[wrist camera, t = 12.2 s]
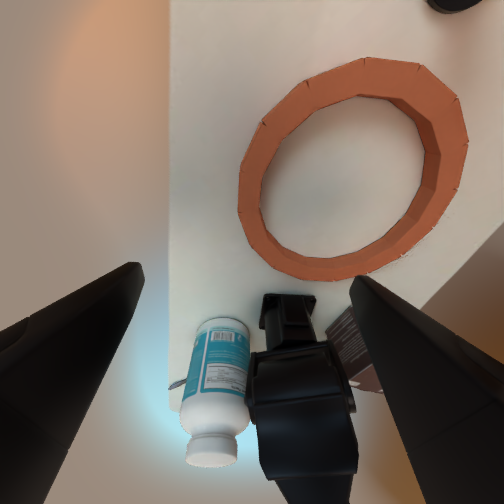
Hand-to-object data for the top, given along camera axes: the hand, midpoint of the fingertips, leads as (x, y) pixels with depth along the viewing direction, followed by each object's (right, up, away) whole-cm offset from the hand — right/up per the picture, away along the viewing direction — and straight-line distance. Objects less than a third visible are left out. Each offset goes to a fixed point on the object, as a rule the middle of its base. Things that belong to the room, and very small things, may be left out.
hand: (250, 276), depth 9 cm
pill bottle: (-4, -10, +22) cm, 24 cm away
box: (+14, -9, +21) cm, 27 cm away
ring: (+8, +6, +10) cm, 14 cm away
